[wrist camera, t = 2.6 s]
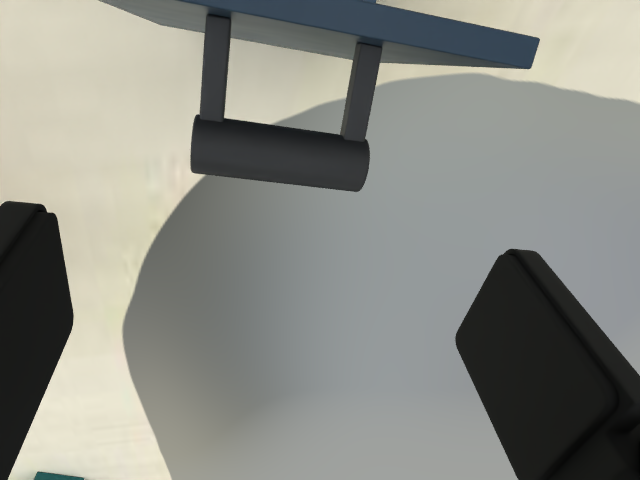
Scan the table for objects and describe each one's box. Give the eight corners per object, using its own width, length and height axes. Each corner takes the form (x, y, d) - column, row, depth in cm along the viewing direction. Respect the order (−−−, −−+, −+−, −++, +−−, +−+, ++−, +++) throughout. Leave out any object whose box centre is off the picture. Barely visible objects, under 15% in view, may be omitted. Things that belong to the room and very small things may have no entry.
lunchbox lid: (20, -73, 9) (37, 177, 11) (541, 38, 12) (483, 224, 14) (161, 10, 26) (158, 105, 28) (366, 48, 29) (350, 132, 30)
